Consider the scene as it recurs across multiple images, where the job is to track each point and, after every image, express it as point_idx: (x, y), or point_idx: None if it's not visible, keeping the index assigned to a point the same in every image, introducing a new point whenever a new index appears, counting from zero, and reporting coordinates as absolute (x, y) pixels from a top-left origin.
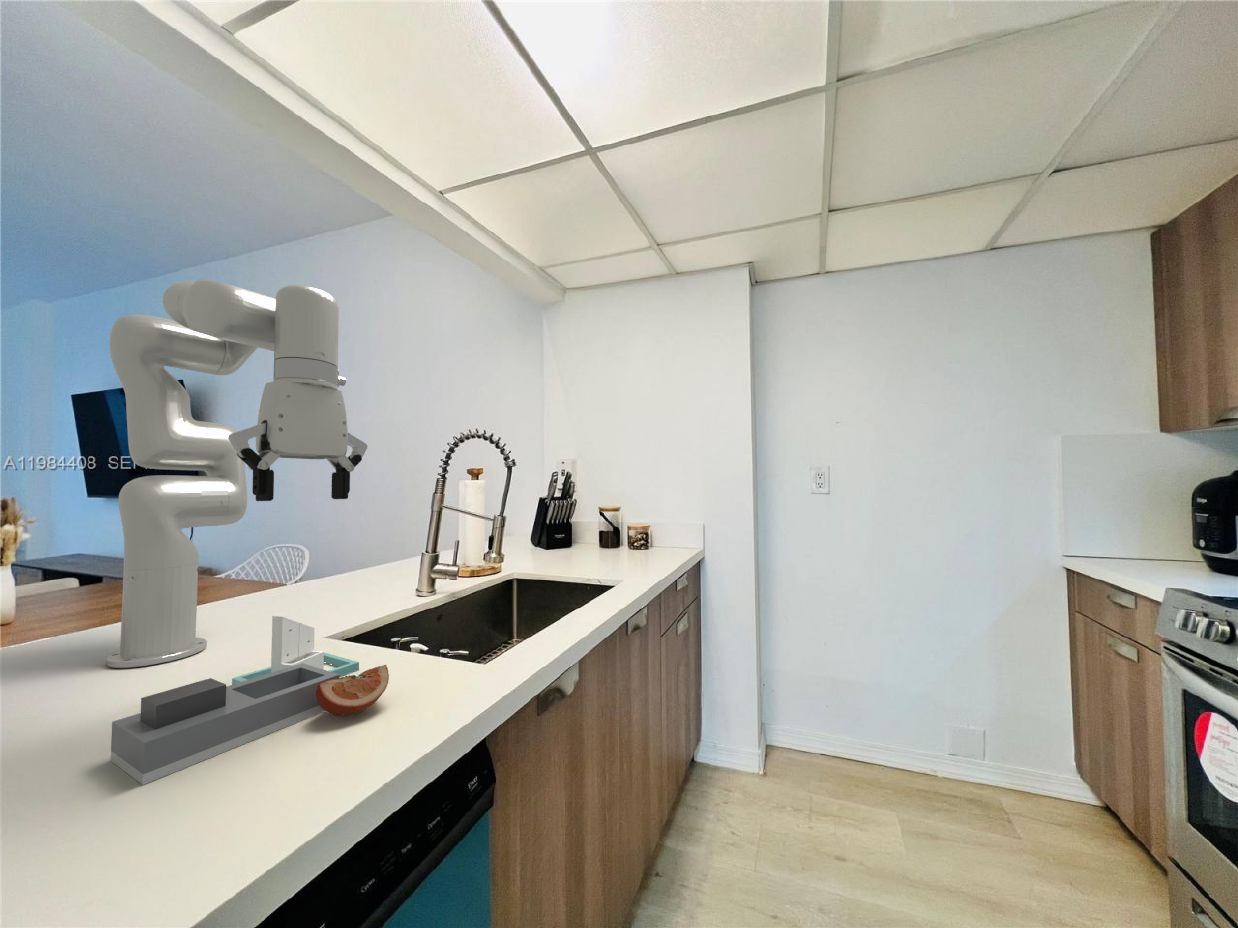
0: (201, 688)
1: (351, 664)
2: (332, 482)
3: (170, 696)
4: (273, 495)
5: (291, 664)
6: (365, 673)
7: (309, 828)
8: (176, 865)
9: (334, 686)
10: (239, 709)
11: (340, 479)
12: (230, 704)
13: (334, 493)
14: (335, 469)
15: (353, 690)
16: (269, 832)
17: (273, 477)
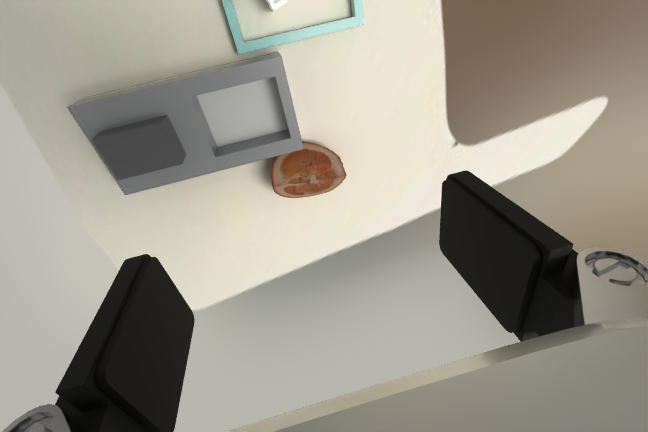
0: (156, 157)
1: (352, 26)
2: (489, 227)
3: (125, 160)
4: (192, 329)
5: (273, 6)
6: (321, 179)
7: (238, 288)
8: (178, 279)
9: (286, 187)
10: (200, 175)
11: (491, 290)
12: (191, 153)
13: (454, 209)
14: (577, 271)
15: (302, 190)
16: (220, 281)
17: (177, 403)
